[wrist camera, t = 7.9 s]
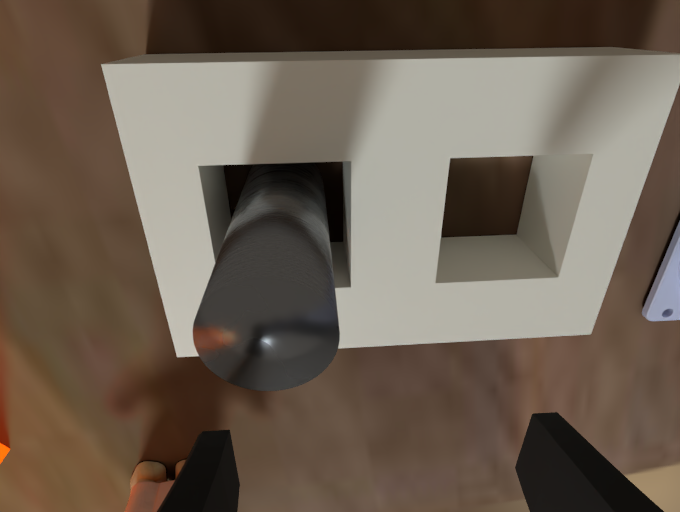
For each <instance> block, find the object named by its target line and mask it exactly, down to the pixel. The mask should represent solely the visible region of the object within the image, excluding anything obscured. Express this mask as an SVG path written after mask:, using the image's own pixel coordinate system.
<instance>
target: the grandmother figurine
mask: <svg viewBox="0 0 680 512" xmlns="http://www.w3.org/2000/svg"><path fill="white" fill-rule="evenodd" d="M185 461H186V460H182V461H180V462H178V463H177V464H176V467H175V474H176V478H177V476H178V474H179V472H180V470H181V469H182V467H183V465H184V463H185ZM174 481H175V480H172V481H167V482H166V468H165V466H164V465H162V464H161V463H159V462H152V461H144V462H141V463H139V464H138V465H137V467H136V469H135V471H134V473H133V475H132V478H131V481H130V487H131V493H130V497H129V500H128V503H127V506H126V509H125V512H157V510H158V509H159V507H160V505H161V504H162V502H163V500H164V499H165V497H166V495H167V494H168V492H169V490H170V488H171V487H172V485H173V483H174Z"/></svg>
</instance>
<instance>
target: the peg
mask: <svg viewBox="0 0 680 512" xmlns="http://www.w3.org/2000/svg"><path fill="white" fill-rule="evenodd" d="M193 341H194V346H195V348H196V351H197V353H198V355H199V357H200V358H201V360H202V361H203V362H204V364H205V365H206V366H207V367H208V368H209V369H210V370H211V371H212V372H213V373H215V374H216V375H217V376H219V377H220V378H222V379H223V380H225V381H227V382H229V383H231V384H234V385H237V386H239V387H243V388H247V389H252V390H258V391H277V390H285V389H289V388H293V387H296V386H299V385H302V384H304V383H306V382H308V381H310V380H312V379H313V378H315V377H317V376H318V375H319V374H320V373H322V372H323V371H324V370H325V369H326V368H327V367H328V365H329V364H330V363H331V361H332V360H333V358H334V356H335V355H336V352H337V349H338V346H339V341H340V330H339V321H338V312H337V302H336V293H335V284H334V274H333V265H332V256H331V247H330V237H329V228H328V219H327V209H326V200H325V191H324V182H323V178H322V175H321V172H320V170H319V169H318V167H317V166H316V165H315V163H314V162H307V163H275V164H253V166H252V167H251V169H250V171H249V174H248V176H247V179H246V182H245V184H244V187H243V190H242V192H241V195H240V198H239V201H238V203H237V206H236V209H235V211H234V214H233V217H232V219H231V222H230V225H229V228H228V230H227V233H226V236H225V238H224V241H223V244H222V247H221V249H220V252H219V255H218V257H217V260H216V263H215V265H214V268H213V271H212V274H211V276H210V279H209V282H208V284H207V287H206V290H205V292H204V295H203V298H202V301H201V303H200V306H199V309H198V311H197V314H196V317H195V320H194V324H193Z"/></svg>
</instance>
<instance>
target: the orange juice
mask: <svg viewBox="0 0 680 512" xmlns="http://www.w3.org/2000/svg"><path fill="white" fill-rule="evenodd" d="M9 450H10V449H9V448H8V447H6V446H4V445H2V444H1V443H0V463H1V462H2V461H3V459H4V458H5V456H6V455H7V453H8V452H9Z"/></svg>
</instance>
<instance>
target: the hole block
mask: <svg viewBox="0 0 680 512" xmlns="http://www.w3.org/2000/svg"><path fill="white" fill-rule="evenodd" d="M101 66H102V70H103V74H104V78H105V81H106V85H107V89H108V93H109V97H110V101H111V105H112V108H113V112H114V116H115V120H116V124H117V128H118V131H119V135H120V139H121V143H122V147H123V151H124V155H125V158H126V162H127V166H128V170H129V174H130V178H131V182H132V185H133V189H134V193H135V197H136V201H137V205H138V209H139V212H140V216H141V220H142V224H143V228H144V232H145V236H146V239H147V243H148V247H149V251H150V255H151V259H152V262H153V266H154V270H155V274H156V278H157V282H158V286H159V289H160V293H161V297H162V301H163V305H164V309H165V313H166V316H167V320H168V324H169V328H170V332H171V336H172V340H173V343H174V347H175V351H176V355H177V357H192V356H199V355H198V353H197V351H196V348H195V346H194V341H193V324H194V320H195V317H196V314H197V311H198V309H199V306H200V303H201V301H202V298H203V295H204V292H205V290H206V287H207V284H208V282H209V279H210V276H211V274H212V271H213V268H214V265H215V263H216V260H217V257H218V255H219V252H220V249H221V247H222V244H223V241H224V238H225V236H226V233H227V230H228V228H229V225H230V222H231V214H230V207H229V200H228V193H227V186H226V180H225V173H224V166H223V165H242V164H275V163H307V162H340V161H343V242H330V247H331V256H332V265H333V274H334V284H335V293H336V302H337V312H338V321H339V330H340V341H339V346H338V348H354V347H372V346H390V345H408V344H426V343H444V342H462V341H480V340H498V339H516V338H534V337H552V336H570V335H588V334H591V332H592V330H593V327H594V324H595V321H596V318H597V316H598V313H599V310H600V307H601V304H602V301H603V299H604V296H605V293H606V290H607V287H608V285H609V282H610V279H611V276H612V273H613V270H614V268H615V265H616V262H617V259H618V256H619V253H620V251H621V248H622V245H623V242H624V239H625V237H626V234H627V231H628V228H629V225H630V222H631V220H632V217H633V214H634V211H635V208H636V205H637V203H638V200H639V197H640V194H641V191H642V189H643V186H644V183H645V180H646V177H647V174H648V172H649V169H650V166H651V163H652V160H653V158H654V155H655V152H656V149H657V146H658V143H659V141H660V138H661V135H662V132H663V129H664V126H665V124H666V121H667V118H668V115H669V112H670V110H671V107H672V104H673V101H674V98H675V95H676V93H677V90H678V87H679V84H680V53H671V52H660V51H649V50H639V49H628V48H618V47H576V48H512V49H449V50H385V51H322V52H258V53H195V54H144V55H140V56H136V57H131V58H127V59H122V60H118V61H113V62H109V63H105V64H101ZM504 156H533V160H532V165H531V169H530V174H529V179H528V183H527V188H526V193H525V197H524V202H523V207H522V211H521V216H520V221H519V225H518V230H517V235H492V236H468V237H444V238H441V232H442V223H443V215H444V206H445V198H446V189H447V181H448V172H449V164H450V158H471V157H504Z"/></svg>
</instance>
